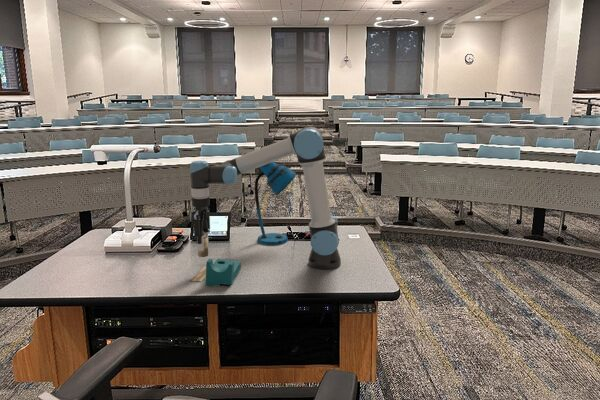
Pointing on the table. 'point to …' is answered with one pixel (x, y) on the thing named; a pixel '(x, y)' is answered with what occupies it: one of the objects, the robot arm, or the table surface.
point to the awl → (205, 252)
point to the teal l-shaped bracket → (221, 271)
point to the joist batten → (200, 276)
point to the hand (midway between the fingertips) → (203, 248)
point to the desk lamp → (278, 182)
